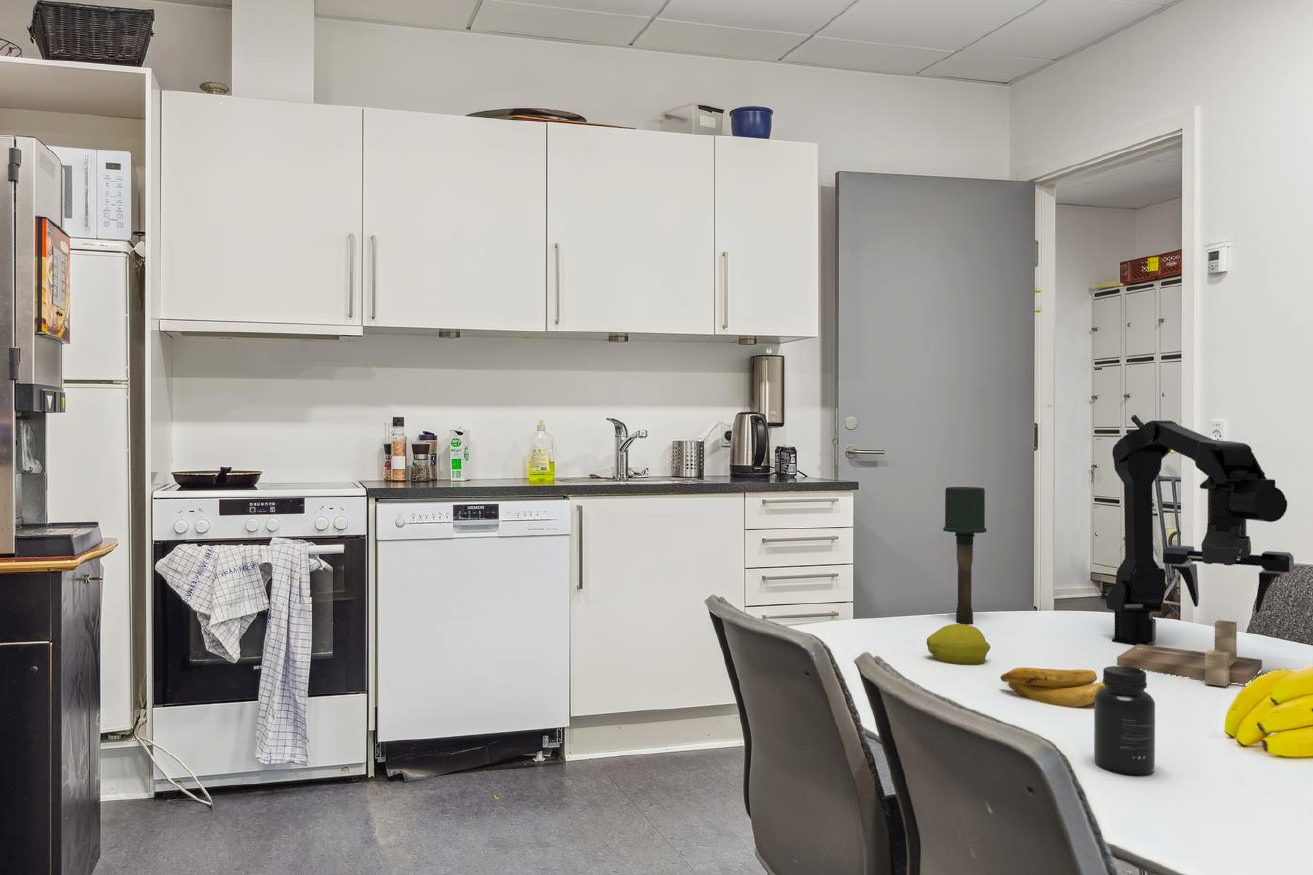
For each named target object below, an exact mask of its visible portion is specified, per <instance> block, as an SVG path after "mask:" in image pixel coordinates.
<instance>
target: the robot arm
mask: <svg viewBox="0 0 1313 875" xmlns="http://www.w3.org/2000/svg"><path fill="white" fill-rule="evenodd" d="M1111 451H1112V453H1111V454H1112V458H1113V465H1114V471H1115V472H1116V474H1117V476H1118V477H1119V479H1120V480H1121V482H1122V483H1123V493H1124V494H1123V495H1124V496H1123V497H1124V498H1123V499H1124V500H1123V504H1124V507H1123V508H1124V512H1123V513H1124V555H1125V556H1124V560H1123V561H1122V562H1121V563H1120V566H1118V569H1117V571H1116V575H1115V584H1113V587H1111V589H1110V591H1109V592H1108V593H1107V595H1106V597H1105V604H1106V608H1107V609H1108V610H1110V611H1111V610H1112V611H1114V637H1113V638H1111V642H1113V643H1122V644H1131V645H1135V646H1136V645H1137V644H1141V645H1149V646H1150V645H1151V644H1152V643H1154V642H1155V641H1156V640H1157V635H1156V634H1157V619H1156V618H1153V617H1154V616H1153V615H1154V612H1159V613H1160V612H1162V608H1163V604H1164V601H1165V595H1166V591H1167V590H1168V587H1167V585H1166V584H1167V583H1166V576H1167V572H1166V570H1165V568H1160V566H1159V564H1158V563H1157V562H1156V560H1155V557H1154V554H1155V553H1154V516H1153V514H1154V512H1153V511H1154V508H1153V507H1154V506H1153V505H1154V503H1153V500H1154V499H1153V483H1154V482H1155V480H1156V479H1157V477H1158V475H1159V474H1160V472H1161V471H1162V463H1163V462H1162V461H1163V458H1165V457H1167V455H1168V454H1170V453H1171V451H1174V452H1176V453H1177V454H1180V455H1183V456H1184V457H1187V458H1189V459H1191V460H1193V461H1194V464H1195V467H1196V468H1197V469H1198V470H1200V471H1201V472H1202V473H1203V474H1205V475H1206V476H1207V477H1206V479H1205V480H1203V481H1202V482H1201V484H1200V485H1199V488H1200V490H1207V527H1206V533H1205V536H1204V538H1203V540H1202V542H1201V550H1196V549H1195V546H1191V545H1176V544H1171V545H1169V546H1167V547H1165V548H1164V549H1163V553H1162V563H1163V564H1166V565H1167V564H1168V565H1169V564H1170V567H1171V569H1172V570H1177V571H1178V573H1179V574H1180V575H1181V577H1182V579H1183V580H1184V582H1185V584H1186V587H1187V590H1188V592H1189V595H1190V598H1191V601H1192V604H1193V606H1194V607H1195V608H1197V607H1199V599H1200V596H1199V594H1200V593H1199V579H1198V567H1197V566H1198V564H1197V563H1194V562H1200V563H1201V562H1202V563H1203V564H1206V565H1213V564H1218V565H1224V566H1235V565H1240V566H1241V565H1242V566H1243V565H1244V566H1255V567H1256V566H1257V567H1258V566H1259V567H1261V569H1262V570H1261V571H1260V572H1259V573H1258V586H1257V592H1256V594H1257V595H1256V601H1255V610H1256V611H1255V612H1256V613H1257V614H1259V613H1261V610H1262V607H1263V605H1264V604H1265V600H1266V597H1267V596H1268V592H1269V590H1270V588H1271V586H1272V584H1273V582H1274V581H1275V579H1276V578H1281V577H1283V576H1284V575H1285V573H1290V572H1292V571H1293V570H1295V564H1294V563H1295V561H1294V560H1295V559H1294V558H1295V557H1294V555H1292V553H1291V552H1286V551H1285V552H1284V551H1273V550H1272V551H1270V550H1267V551H1264V552H1261V554H1251V553H1252V545H1251V544H1252V542H1251V537H1250V535H1247V521H1248V520H1252V521H1258V522H1259V521H1260V522H1266V523H1273V522H1277V521H1279V520H1280V519H1281V518H1283V517H1284V516H1285V514H1286V512H1287V510H1288V500H1287V498H1286V495H1285V494H1284V493H1283V491H1282V489H1280V488H1278V487H1276V480H1275V479H1273V478H1267V477H1266V473H1265V472H1264V470H1263V469H1262V468H1261V466H1260V463H1259V461H1258V459H1257V458H1256V457H1255V454H1254V452H1253V449H1252V447H1250V445H1249V444H1247V443H1244V442H1236V441H1231V440H1229V441H1228V440H1221V439H1220V440H1219V439H1213V438H1211V437H1207V436H1205V435H1204V434H1201V433H1198V432H1196V431H1194V430H1192V429H1189V428H1186V427H1185V426H1182V425H1179V424H1178V423H1177V422H1176V421H1173V420H1150V421H1148V422H1145V424H1143V426H1142V427H1140V428H1137V429H1135V430H1134V431H1131V432H1129V433H1127V434H1125V435H1123V437H1122V438H1120V439H1119V440H1118V441H1117V442H1116V444H1114V446H1113V447H1112V450H1111Z"/></svg>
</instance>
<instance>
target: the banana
mask: <svg viewBox="0 0 1313 875" xmlns="http://www.w3.org/2000/svg"><path fill="white" fill-rule="evenodd" d="M1097 679H1098V676H1097V673H1096V671H1094V670H1090V669H1052V668H1040V667H1039V668H1035V667H1017V668H1012V669H1011V670H1009V671H1007V672H1006V673H1003V674H1001V675H1000V681H1002V682H1004V683H1009V687H1010V688H1011V689H1012V690H1014V691H1015V692H1016V693H1017V694H1018V695H1019V696H1021V697H1024V698H1026V699H1029V700H1031V701H1034V702H1038V703H1043V704H1047V705H1053V706H1058V707H1059V706H1060V707H1066V708H1079V707H1085V706H1089V705H1091V704H1092V703H1093V704H1094V700H1095V695H1096V693H1097V692H1098V691H1099V690H1100V689H1102V688H1104V687H1105V685H1104V684H1103V680H1102V681H1100V682H1098V683H1097V682H1096V681H1097Z"/></svg>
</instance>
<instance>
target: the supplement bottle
mask: <svg viewBox="0 0 1313 875" xmlns="http://www.w3.org/2000/svg"><path fill="white" fill-rule="evenodd" d="M1102 670H1103V674H1102V681H1103V684H1104V685H1105V687H1104V688H1102V689H1100V690H1099V691H1098V692H1097V693H1096V695H1095V700H1094V703H1093V706H1094V710H1093V711H1094V712H1093V713H1094V722H1093V723H1094V725H1093V726H1094V727H1093V728H1094V729H1093V732H1094V735H1093V736H1094V738H1093V741H1094V742H1093V744H1094V745H1093V746H1094V747H1093V748H1094V749H1093V751H1094V752H1093V753H1094V754H1093V757H1094V762H1095V763H1096V765H1097V766H1098V767H1099V768H1101V769H1103V770H1106V771H1108V772H1111V773H1115V774H1119V775H1120V774H1121V775H1126V776H1127V775H1128V776H1144V775H1147V774H1150V773H1151V772H1153V771H1154V769H1155V766H1156V765H1155V763H1156V762H1155V759H1156V755H1155V754H1156V753H1155V752H1156V740H1155V739H1156V703H1155V700H1154V697H1152V696H1151V695H1150V694H1149V693H1148V692H1147V691H1145V689H1147V686H1148V683H1147V673H1146V672H1147V671H1145V670H1140V669H1137V668H1132V667H1125V666H1117V665H1112V666H1106V667H1104V668H1103V669H1102Z"/></svg>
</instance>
